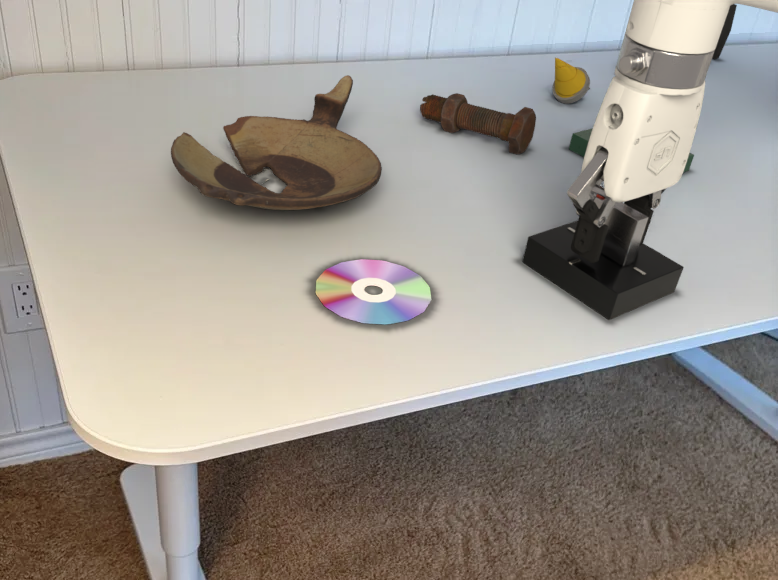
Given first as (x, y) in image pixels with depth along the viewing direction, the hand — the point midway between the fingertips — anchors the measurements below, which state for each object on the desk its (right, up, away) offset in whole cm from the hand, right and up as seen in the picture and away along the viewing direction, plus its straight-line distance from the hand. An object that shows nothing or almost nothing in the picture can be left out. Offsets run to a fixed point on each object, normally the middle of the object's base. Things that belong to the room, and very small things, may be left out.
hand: (606, 246), depth 82 cm
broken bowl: (-32, +9, +12) cm, 35 cm away
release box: (+10, +16, +25) cm, 32 cm away
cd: (-23, -5, -3) cm, 24 cm away
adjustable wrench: (+27, +41, +56) cm, 75 cm away
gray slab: (0, 0, 0) cm, 1 cm away
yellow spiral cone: (+5, +29, +39) cm, 49 cm away
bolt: (-10, +20, +27) cm, 35 cm away
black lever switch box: (0, -3, +2) cm, 4 cm away
